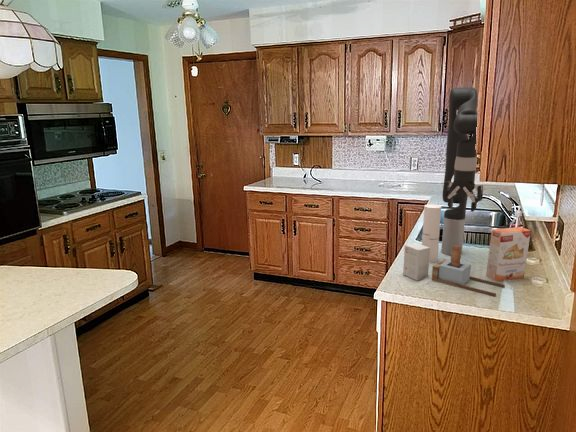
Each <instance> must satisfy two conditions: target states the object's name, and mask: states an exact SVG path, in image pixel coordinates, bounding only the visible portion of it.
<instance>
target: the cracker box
mask: <svg viewBox="0 0 576 432" xmlns="http://www.w3.org/2000/svg"><path fill="white" fill-rule="evenodd" d="M530 238H531V229H528V228H524V227H522V226H517V227H515V226H514V227H506V228H495V229H494V228H492V229H491V233H490V242H489V248H488V249H489V250H488V257H487V265H486V274H485V275H486V276H485V277H487V278H489V279H491V280H493V282H498V281H500V282H501V281H506V280H513V279H520V278H523V279H524V278H525V273H526V268H527V267H526V265H527V259H528V254H529V246H530V240H531V239H530Z"/></svg>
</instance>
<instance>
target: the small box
mask: <svg viewBox="0 0 576 432" xmlns="http://www.w3.org/2000/svg"><path fill="white" fill-rule="evenodd" d="M429 255H430V248H429V247H426V246H423V245H422V243H421V244H420V243H418V242H413V243H408V244H405V245H404V256H403V273H402V274H403V275H404V276H406V277H408V278H411V279H413V280H414V281H420V280H421V281H422V280H424V279H426V278H427V277H429V269H430V267H429V266H430V263H429Z"/></svg>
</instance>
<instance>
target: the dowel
mask: <svg viewBox="0 0 576 432" xmlns="http://www.w3.org/2000/svg"><path fill="white" fill-rule="evenodd" d="M461 255H462V254H461V246H459V245H453V246H452V254H451V255H450V260H451V265H450V266H452V267H457V268H460V262H461Z"/></svg>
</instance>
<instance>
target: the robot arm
mask: <svg viewBox="0 0 576 432" xmlns="http://www.w3.org/2000/svg"><path fill="white" fill-rule="evenodd" d="M448 95H449V96H448V97H449V98H448V128H447V129H448V130H447V136H446V137H447V138H446V139H447V140H446V153H445V169H444V170H445V171H444V178H443V185H442V201H443V202H444V203H447V207H448V209H446V210H445V211H444V215H443V225H442V227H443V228H442V238H441V248H440V249H441V253H442V254H444V255H446V256H451V254H452V246H453V245H459V246H461V255H462V254H463V245H464V233H465V222H466V212H467V211H466V210H467V203H468V198H469V199H470V201H471V205H470V212H475V211H476V210H477V204H478V202H481V201H482V200H483V196H484V195H483V194H484V185H483V184H477V185H476V184H475V183H476V182H475V180H476V169H477V152H476V150H475V144H476V127H477V115H478V111H477V107H478V91H477V89H476V88H475V87H469V86H468V87H452V88H451V89H450V91H449V94H448ZM468 135H471V137H469V136H468ZM452 179H453V182H452ZM474 189H475V191H476V194H475V192H474ZM476 195H477V196H476ZM454 204H458V206H456V207H453V206H454Z"/></svg>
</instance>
